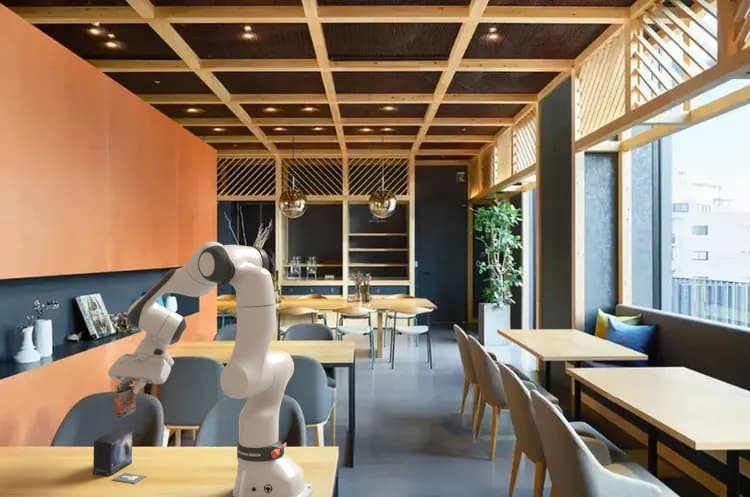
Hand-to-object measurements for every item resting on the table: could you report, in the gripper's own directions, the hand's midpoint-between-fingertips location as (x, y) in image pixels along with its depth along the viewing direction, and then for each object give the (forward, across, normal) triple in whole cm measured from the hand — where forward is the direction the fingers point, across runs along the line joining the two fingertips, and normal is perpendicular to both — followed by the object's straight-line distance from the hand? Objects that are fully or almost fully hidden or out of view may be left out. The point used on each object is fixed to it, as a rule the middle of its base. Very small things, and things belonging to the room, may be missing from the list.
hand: (126, 392), depth 169 cm
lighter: (+5, 0, +4) cm, 7 cm away
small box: (+18, -3, +16) cm, 24 cm away
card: (+21, +7, +12) cm, 25 cm away
